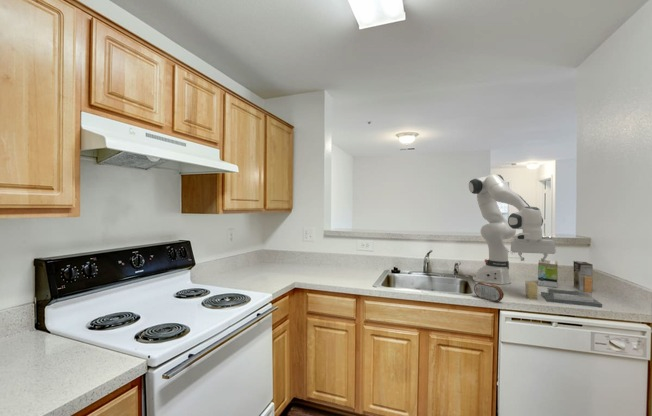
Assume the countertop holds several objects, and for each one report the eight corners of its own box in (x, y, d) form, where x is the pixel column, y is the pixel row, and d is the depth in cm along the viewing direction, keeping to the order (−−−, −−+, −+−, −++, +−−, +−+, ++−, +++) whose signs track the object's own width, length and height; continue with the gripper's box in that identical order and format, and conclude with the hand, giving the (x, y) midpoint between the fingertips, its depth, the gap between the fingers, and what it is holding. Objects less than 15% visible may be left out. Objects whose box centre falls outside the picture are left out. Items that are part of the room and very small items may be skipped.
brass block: (528, 298, 159) (528, 284, 160) (525, 295, 167) (525, 280, 167) (537, 299, 158) (537, 284, 158) (534, 295, 165) (533, 281, 165)
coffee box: (573, 287, 184) (572, 261, 184) (586, 288, 181) (585, 261, 182) (579, 290, 175) (579, 263, 175) (593, 291, 173) (593, 264, 173)
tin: (504, 302, 153) (503, 286, 153) (500, 303, 151) (500, 287, 151) (476, 295, 166) (476, 280, 166) (473, 296, 164) (473, 281, 164)
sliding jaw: (548, 293, 164) (548, 274, 164) (547, 291, 166) (546, 273, 166) (592, 297, 156) (592, 277, 156) (590, 295, 159) (590, 276, 159)
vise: (547, 301, 154) (547, 293, 154) (540, 294, 167) (540, 287, 167) (602, 307, 145) (602, 299, 145) (590, 299, 158) (590, 291, 158)
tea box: (557, 288, 181) (557, 264, 182) (537, 285, 187) (537, 262, 188) (557, 283, 193) (557, 260, 193) (538, 281, 199) (538, 259, 200)
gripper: (553, 236, 161) (554, 261, 161) (509, 235, 169) (510, 259, 169) (557, 237, 156) (557, 263, 155) (511, 236, 164) (512, 261, 163)
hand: (532, 261), depth 162 cm, fingers open, 8 cm apart
